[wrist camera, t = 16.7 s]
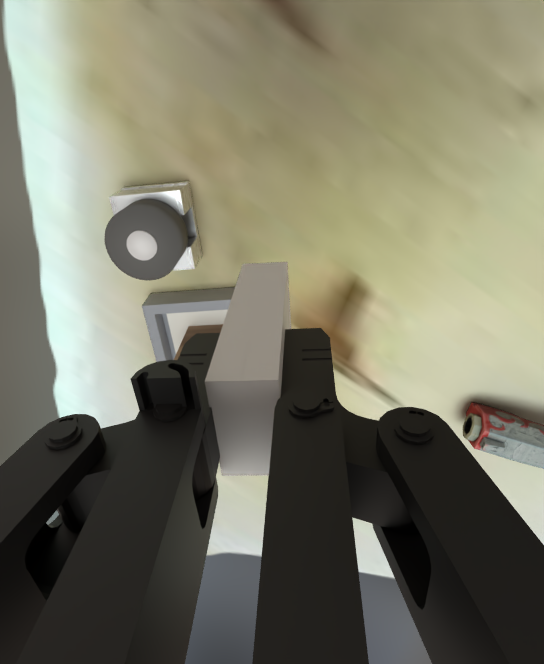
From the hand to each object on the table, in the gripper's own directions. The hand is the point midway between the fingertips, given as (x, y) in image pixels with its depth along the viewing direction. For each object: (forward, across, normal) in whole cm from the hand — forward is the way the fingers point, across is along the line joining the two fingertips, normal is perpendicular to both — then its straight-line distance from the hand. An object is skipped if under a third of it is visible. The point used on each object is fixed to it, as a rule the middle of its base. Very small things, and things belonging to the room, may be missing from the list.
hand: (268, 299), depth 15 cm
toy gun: (+27, +28, -30) cm, 49 cm away
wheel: (+25, -12, -4) cm, 28 cm away
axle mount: (+26, -12, -4) cm, 29 cm away
